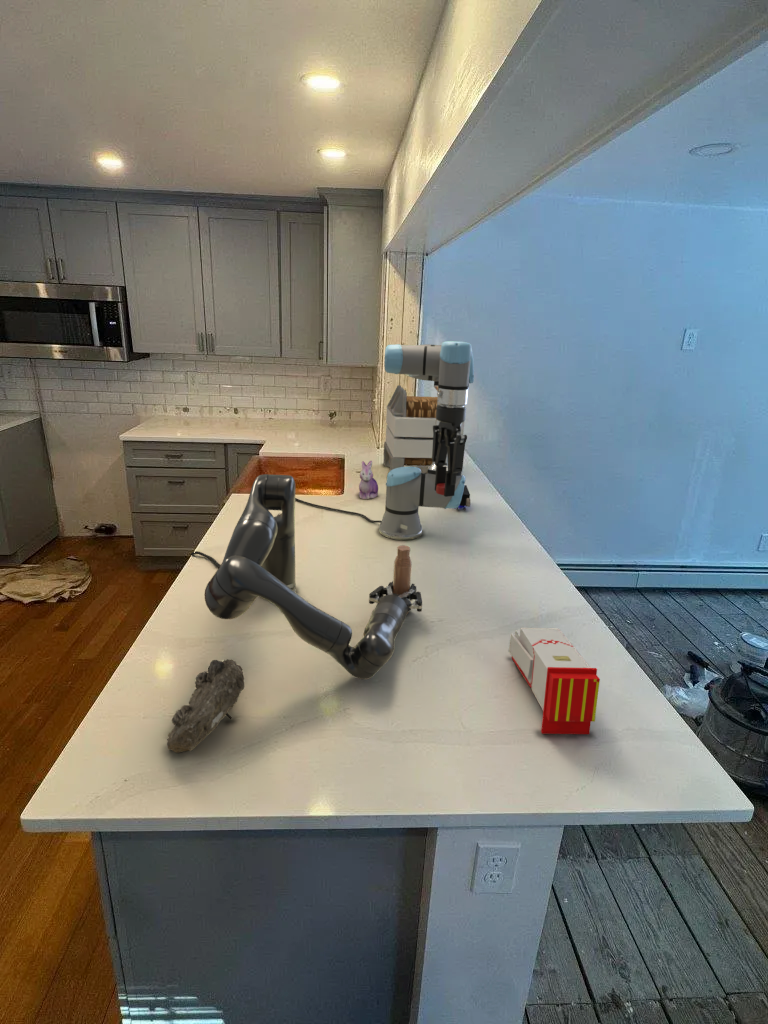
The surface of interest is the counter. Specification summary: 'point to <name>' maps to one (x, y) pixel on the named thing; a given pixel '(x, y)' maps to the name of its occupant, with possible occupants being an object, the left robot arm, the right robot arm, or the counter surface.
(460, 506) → the figurine character
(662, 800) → the counter surface
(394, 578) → the bottle
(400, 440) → the grey tiered storage bin
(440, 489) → the cap
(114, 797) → the counter surface
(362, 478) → the figurine
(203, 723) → the fossil
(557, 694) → the toy
